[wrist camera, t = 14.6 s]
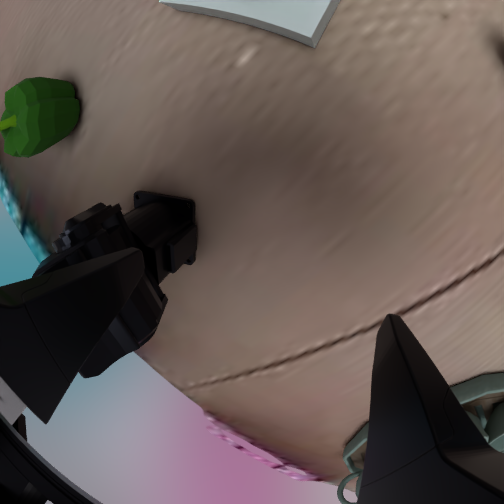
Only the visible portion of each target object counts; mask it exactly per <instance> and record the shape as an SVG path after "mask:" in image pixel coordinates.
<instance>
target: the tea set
mask: <svg viewBox="0 0 504 504" xmlns="http://www.w3.org/2000/svg"><path fill="white" fill-rule="evenodd" d="M450 388H451V390H452V391H453V393H454V395H455V396H456V398H457V399H458V401H459V402H460V404H461V405H462V407H463V408H464V410H465V411H466V412H467V414H468V415H469V417H470V418H471V419H472V421H473V422H474V424H475V425H476V426H477V428H478V429H479V431H480V432H481V433H482V435H483V436H484V438H485V439H486V441H487V442H488V443H489V444H490V445H491V446H492V447H493V448H494V449H496V450H497V451H499V452H502V453H504V373H497V374H488V375H481V376H479V377H477V378H474V379H472V380H469V381H466V382H464V383H461V384H458V385H456V386H453V387H450ZM368 427H369V422H368V423H367V424H366V425H365V426H364V427H363V428H362V429H361V431H360V432H359V433H358V434H357V435H356V436H355V437H354V438H353V439H352V440H351V441H350V442H349V443H348V444H347V446H346V447H345V449H344V453H343V460H344V461H345V463H346V465H347V467H348V469H349V471H350V472H351V473H352V474H350V475H348V476H347V477H346V478H344V479H343V480H342V482H341V483H340V485H339V486H338V491H337V495H338V499H339V500H340V502H341V503H342V504H357V502H356V503H350V502H348V501H347V500H346V499H345V498H344V496H343V489H344V487H345V485H346V483H347V482H349V481H350V480H351V479H353V478H355V477H357V476H359V478H358V480H357V483H356V496H357V498H358V495H359V490H360V485H361V480H362V474H363V467H364V461H365V453H366V446H367V437H368Z"/></svg>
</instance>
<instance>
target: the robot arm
mask: <svg viewBox="0 0 504 504" xmlns="http://www.w3.org/2000/svg"><path fill="white" fill-rule="evenodd" d="M138 195H139V197H140V198H139V197H138ZM187 203H188V204H189V205H190V207H188V205H187ZM134 208H135V209H133V210H131V211H130V212H128V213H126V214H125V215H123V214H122V212H121V210H122V209H121V207H120V205H119V203H118V204H116V205H114V206H111V205H109V206H106V205H104V204H103V203H101V202H100V203H98V204H97V205H95V206H93V207H91V208H89V209H88V210H86V211H84V212H82V213H80V214H78V215H76V216H74V217H73V218H71V219H69V220H68V221H66V222H65V226H64V230H63V233H61V234H60V235H59V237H60V238H58V239H57V240H56V241H54V242H53V243H52V245H53V247H54V249H55V251H56V252H55V253H53V254H52V255H50V256H49V257H47V258H46V259H45V260H43V261H42V262H41V263H40V265H39V266H38V268H37V269H36V271H35V273H34V274H33V276H32V278H30V279H27V280H23V281H20V282H16V283H12V284H9V285H5V286H1V287H0V504H45V503H46V501H47V500H49V501H51V502H52V503H53V504H102V503H101V502H99V501H98V500H96V499H95V498H93V497H92V496H90V495H89V494H88V493H86V492H85V491H83V490H82V489H81V488H79V487H78V486H77V485H75V484H74V483H73V482H71V481H70V480H69V479H68V478H66V477H65V476H64V475H62V474H61V473H60V472H59V471H58V470H57V469H55V468H54V467H53V466H52V465H51V464H50V463H48V462H47V461H46V460H45V459H44V458H43V457H42V456H41V455H40V454H39V453H38V452H37V451H35V449H34V448H32V447H31V446H30V445H29V444H28V443H27V435H26V423H25V416H24V415H23V414H22V412H23V411H24V409H25V408H26V407H28V408H29V409H30V410H31V411H32V412H33V413H34V414H35V415H36V416H37V417H38V418H39V419H40V420H41V421H43V422H44V423H45V424H47V423H48V421H49V420H50V418H51V416H52V415H53V413H54V411H55V409H56V407H57V406H58V404H59V403H60V401H61V399H62V397H63V396H64V394H65V393H66V391H67V389H68V388H69V386H70V383H72V381H73V379H74V378H75V376H76V375H77V373H78V372H79V373H80V375H81V376H82V377H83V378H89V377H94V376H98V375H100V374H101V373H102V372H104V371H105V370H106V369H107V368H108V367H109V366H110V365H112V364H113V363H114V362H115V361H117V360H118V359H120V358H121V357H123V356H125V355H126V354H128V353H130V352H133V351H135V350H137V349H139V348H140V347H141V346H142V345H144V344H145V343H146V342H147V341H148V340H150V339H151V337H152V336H153V335H154V333H155V331H156V329H157V327H158V324H159V322H160V319H161V317H162V314H163V311H164V309H165V306H166V304H167V301H168V298H167V297H166V295H165V294H163V292H162V290H161V289H160V287H159V284H160V283H161V282H162V281H163V280H164V278H165V277H166V276H167V275H168V274H169V273H175V272H176V271H177V270H178V269H179V268H180V267H181V266H182V265H183V264H187V265H192V264H193V263H194V261H195V251H196V249H197V246H196V224H195V203H194V202H193V201H192V200H191V199H186V198H180V197H175V196H169V195H163V194H157V193H151V192H145V191H137V192H135V193H134ZM188 258H189V259H190V260H191V261H190V260H189V259H188ZM357 504H504V453H502V452H499V451H497V450H496V449H494V448H493V447H492V446H491V445H490V444H489V443H488V442H487V441H486V439H485V438H484V436H483V435H482V433H481V432H480V431H479V429H478V428H477V426H476V425H475V424H474V422H473V421H472V419H471V418H470V417H469V415H468V414H467V412H466V411H465V410H464V408H463V407H462V405H461V404H460V402H459V401H458V399H457V398H456V396H455V395H454V393H453V391H452V390H451V388H449V385H448V384H447V382H446V381H445V379H444V378H443V376H442V375H441V373H440V372H439V370H438V369H437V367H436V366H435V364H434V363H433V361H432V360H431V359H430V357H429V356H428V354H427V353H426V351H425V350H424V349H423V347H422V346H421V344H420V343H419V342H418V340H417V339H416V337H415V336H414V335H413V333H412V332H411V331H410V329H409V328H408V327H407V325H406V324H405V323H404V321H403V320H402V319H401V317H400V316H399V315H395V314H387V316H386V317H385V319H384V321H383V323H382V325H381V327H380V328H379V330H378V333H377V338H376V347H375V355H374V363H373V370H372V381H371V401H370V416H369V427H368V437H367V446H366V453H365V461H364V467H363V474H362V480H361V485H360V490H359V495H358V500H357Z"/></svg>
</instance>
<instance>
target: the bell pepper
mask: <svg viewBox="0 0 504 504" xmlns="http://www.w3.org/2000/svg"><path fill="white" fill-rule="evenodd" d="M5 108H6V110H5V111H4V113H3V115H2V118H1V121H0V131H1V133H2V136H3V138H4V140H5V143H4V152H5V153H7V154H10V155H12V156H16V157H31V156H33V155H36V154H38V153H41V152H43V151H44V150H46V149H47V148H49V147H51V146H52V145H54V144H55V143H57V142H59V141H60V140H62V139H63V138H65V137H66V136H68V135H69V134H70V132H71V131H72V130H73V128H74V127H75V125H76V123H77V122H78V118H79V112H80V106H79V100H77V99H75V90H74V87H73V85H72V84H70V83H69V82H67V81H63V80H58V79H51V78H44V77H35V78H27V79H24V80H23V81H21V82H20V83H18V84H17V85H15V86H14V87H12V88H11V89H10V90H8V91H7V92H6V93H5Z"/></svg>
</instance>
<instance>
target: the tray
mask: <svg viewBox="0 0 504 504" xmlns="http://www.w3.org/2000/svg"><path fill="white" fill-rule="evenodd" d="M159 2H160V3H162V4H165V5H167V6H170V7H172V8H174V9H177V10H179V11H186V12H192V13H198V14H204V15H209V16H214V17H219V18H223V19H227V20H232V21H236V22H240V23H243V24H247V25H251V26H254V27H257V28H261V29H264V30H267V31H270V32H273V33H276V34H279V35H282V36H285V37H288V38H290V39H293V40H296V41H298V42H301V43H303V44H306V45H308V46H311V47H313V48H315V47H316V45H317V43H318V41H319V40H320V38H321V36H322V34H323V32H324V30H325V28H326V26H327V24H328V23H329V21H330V19H331V17H332V15H333V13H334V11H335V10H336V8H337V6H338V4H339V2H340V0H159Z"/></svg>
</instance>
